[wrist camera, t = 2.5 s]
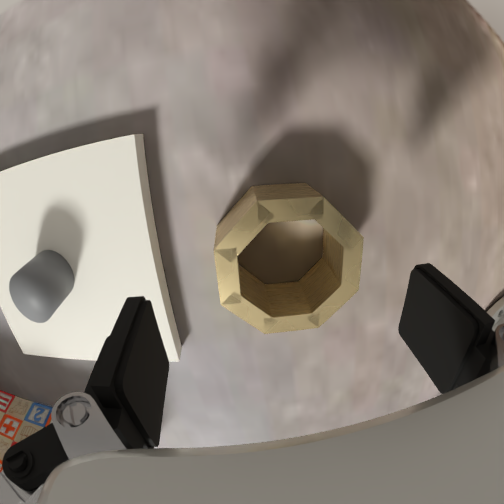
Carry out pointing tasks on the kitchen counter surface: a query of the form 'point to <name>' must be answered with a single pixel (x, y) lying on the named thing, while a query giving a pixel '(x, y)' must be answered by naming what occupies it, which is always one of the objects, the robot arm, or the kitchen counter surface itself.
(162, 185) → the kitchen counter surface
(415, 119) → the kitchen counter surface
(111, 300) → the base
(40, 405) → the stack of blocks
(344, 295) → the beige octagonal ring
